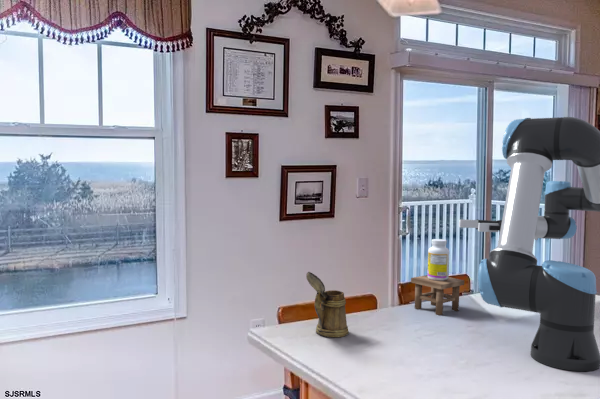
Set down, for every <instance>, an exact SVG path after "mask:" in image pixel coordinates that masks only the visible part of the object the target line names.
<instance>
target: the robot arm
mask: <svg viewBox="0 0 600 399" xmlns="http://www.w3.org/2000/svg"><path fill="white" fill-rule="evenodd" d="M501 147H502V148H501V151H502V152H501V154H502V156H503V158H504V159H505V160H506V163H507V165H508V166H509V167H510V175H509V179H508V184H507V192H506V195H505V200H504V201H505V202H504V207H503V214H502V219H498V220H491V219H490V220H487V219H479V218H478V219H461V218H460V219H459V221H458V228H461V229H462V228H463V229H464V228H467V229H476V230H477V231H478V232H481V233H482V232H483V233H485V232H486V233H499V236H498V240H497V246H496V247H495V248H493V249H492V250H490V251H489V257H488V258H483V259H481V261H480V263H479V265H478V272H477V276H478V277H477V280H478V290H479V294H480V297H481V299H482V300H483V301H484V302H485V303H486V304H488V305H492V306H496V307H499V308H506V309H507V308H508V309H512V310H513V309H514V310H519V311H520V310H521V311H525V312H531V313H535V314H536V313H537V314H539V316H540V317H539V326H538V328H537V331H536V333H535V336H534V338H533V341H532V343H531V345H530V356H531V358H532V359H533V360H535V361H537V362H538V363H540V364H543V365H546V366H548V367H551V368H556V369H560V370H566V371H572V372H574V371H575V372H589V371H592V372H593V371H596V370H598V369H600V349H599V346H598V343H597V339H596V337H595V331H594V329H595V328H594V327H595V310H596V295H597V292H598V291H597V279H596V275H595V273H594V272H593V271H592V270H590V269H589V268H587V267H584V266H581V265H578V264H575V263H570V262H567V261H560V260H545V261H543V262H542V264H541V265H538V259H537V257H536V256H535V255H534V253H533V250H534V243H535V241H538V239H548V240H549V239H550V240H551V239H552V240H564V239H566V240H567V239H571V238H574V236H575V234H576V233H577V227H578V226H577V225H576V223H577V222H576V220H575V219H574V218H573V217H571V216H570V211H581V212H582V211H584V212H599V213H600V130H599V129H598V128H597V127H596V126H594V125H593V124H591V123H589V122H588V121H585V119H581V118H578V117H573V116H572V117H571V116H563V117H538V118H537V117H536V118H535V117H534V118H531V117H525V118H517V119H514V120H512V121H511V122H510V123H509V124H507V126H506V128H505V132H504V133H503V136H502V146H501ZM553 161H571V162H572V163H573V164H574V165H576V168H577V171H578V174H579V179H580V182H581V185H582V187H577V186H572V185H571V182H570V181H566V180H565V181H564V180H563V181H562V180H561V181H560V180H549V181H547V182H546V185H545V192H544V210H543V212H544V213H543V215H539V212H540V204H541V201H542V200H541V199H542V194H543V193H542V192H543V186H544V180H545V173H546V172H547V171H550V170H551V168H552V166H553Z"/></svg>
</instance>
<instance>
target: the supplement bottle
mask: <svg viewBox="0 0 600 399" xmlns="http://www.w3.org/2000/svg"><path fill="white" fill-rule="evenodd" d="M447 244H448V243H447V239H441V238H433V239H431V245H432V246H431V247H429V248H428V250H427V253H428V254H427V275H428V278H429V279H431V280H436V281H444V280H447V279H448V277H449V273H450V272H449V270H450V249H449V248H448V247H447Z"/></svg>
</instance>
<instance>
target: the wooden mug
mask: <svg viewBox="0 0 600 399" xmlns="http://www.w3.org/2000/svg"><path fill="white" fill-rule="evenodd" d="M306 280H307V282H308V284H309V285H310V286H311V287H312V288H313V290H315V291H316V294H315V299H314V310H315V312H316V315H317V317H318V322H317V325H316V328H315V333H316V334H318V335H319V336H321V337H324V338H325V337H326V338H331V339H332V338H333V339H335V338H343V337H346V336H347V335H348V334H349V326H348V323H347V314H346V313H347V312H346V304H347V302H346V298H345V293H344V292H343V291H341V290H335V289H333V290H326V287H325V285H324V282H323V281H322V280H321V279H320V278H319V277H318V276H317V275H316V274H314V273H313V272H311V271H308V272H306Z"/></svg>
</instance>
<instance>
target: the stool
mask: <svg viewBox="0 0 600 399" xmlns="http://www.w3.org/2000/svg"><path fill="white" fill-rule="evenodd" d="M410 283H413V284H414V285H415V288H414V309H415V310H422V305H423V303H422V300H424V301H427V302H430V305H431V306H435V315H436V316H443V315H444V314H443V313H444V304H445V303H450V302H451V311H454V312H459V311H460V310H459V309H460V287H461V286H464V285H465V280H464V279H460V278H455V277H449V276H448V279H447V280H444V281H436V280H431V279H429V278H428V274H427V275H422V276H421V275H420V276H413V277H411V278H410ZM423 286H425V287H428V288H429V287H430V288H431V289H430V291H429V292H427V291H426V292H423ZM450 288H451V290H452V294H448V293H445V292H444V290H445V289H450Z"/></svg>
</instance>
